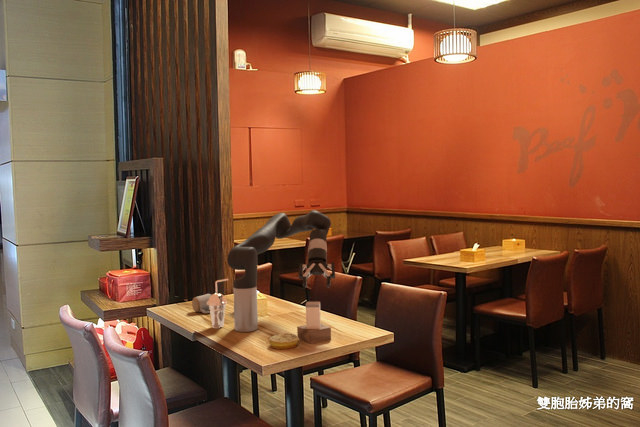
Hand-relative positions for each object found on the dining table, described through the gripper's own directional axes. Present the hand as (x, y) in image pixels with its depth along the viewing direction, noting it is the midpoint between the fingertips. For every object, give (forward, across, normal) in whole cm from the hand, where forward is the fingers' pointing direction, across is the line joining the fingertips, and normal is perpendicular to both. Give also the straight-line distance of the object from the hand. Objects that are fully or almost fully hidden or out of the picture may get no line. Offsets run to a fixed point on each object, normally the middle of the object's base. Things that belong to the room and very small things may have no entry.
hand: (316, 286), depth 221 cm
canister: (+15, +1, -5) cm, 15 cm away
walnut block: (+18, +1, -8) cm, 20 cm away
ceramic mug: (-14, +54, -41) cm, 69 cm away
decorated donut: (+24, +11, -3) cm, 26 cm away
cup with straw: (+5, +42, -22) cm, 47 cm away
